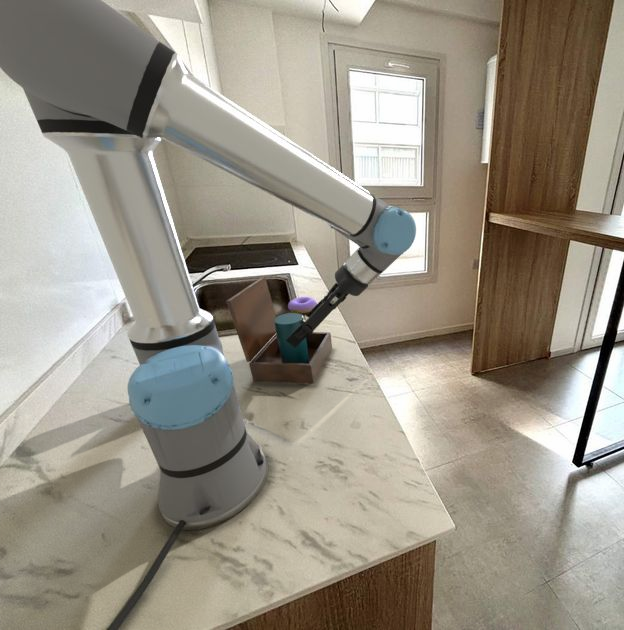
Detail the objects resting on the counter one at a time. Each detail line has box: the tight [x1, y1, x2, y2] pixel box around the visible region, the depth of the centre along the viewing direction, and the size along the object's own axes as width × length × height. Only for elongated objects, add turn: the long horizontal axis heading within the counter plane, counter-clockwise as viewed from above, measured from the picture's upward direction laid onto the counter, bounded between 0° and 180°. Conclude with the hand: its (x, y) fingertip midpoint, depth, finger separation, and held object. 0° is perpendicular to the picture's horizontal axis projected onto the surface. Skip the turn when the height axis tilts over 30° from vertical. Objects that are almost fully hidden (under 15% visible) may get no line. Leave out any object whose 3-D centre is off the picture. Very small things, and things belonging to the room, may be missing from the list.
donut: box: [287, 296, 318, 314], centre depth 119 cm, size 10×9×5 cm
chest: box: [248, 331, 333, 384], centre depth 86 cm, size 15×17×6 cm
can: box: [274, 312, 309, 364], centre depth 84 cm, size 7×7×13 cm
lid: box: [225, 276, 277, 363], centre depth 81 cm, size 15×17×1 cm
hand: (301, 330), depth 82 cm, fingers open, 13 cm apart
